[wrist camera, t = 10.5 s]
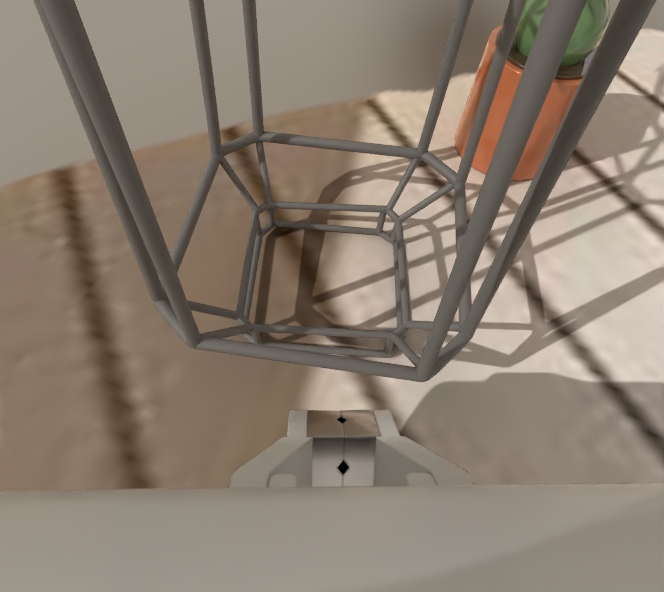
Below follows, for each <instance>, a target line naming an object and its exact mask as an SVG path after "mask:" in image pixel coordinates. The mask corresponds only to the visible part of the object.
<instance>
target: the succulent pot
mask: <svg viewBox="0 0 664 592" xmlns="http://www.w3.org/2000/svg"><path fill="white" fill-rule="evenodd" d="M547 2H548V0H526V3H525V6H524V9H523V12H522V15H521V18H520V21H519V24H518V27H517V30H516V33H515V36H514V39H513V42H512V45H511V48H510V51H509V54H508V57H507V60H506V63H505V66H504V69H503V72H502V75H501V78H500V81H499V84H498V87H497V90H496V93H495V96H494V99H493V102H492V105H491V108H490V111H489V114H488V117H487V120H486V123H485V126H484V129H483V132H482V135H481V138H480V141H479V144H478V147H477V150H476V153H475V156H474V159H473V162H472V165H471V166H472V167H474V168H475V169H477V170H478V171H480V172H482V173H484V174H486V173H487V171H488V168H489V165H490V162H491V159H492V157H493V154H494V151H495V148H496V145H497V142H498V140H499V137H500V134H501V131H502V128H503V126H504V123H505V120H506V117H507V114H508V112H509V109H510V106H511V103H512V100H513V98H514V95H515V92H516V89H517V86H518V84H519V81H520V78H521V75H522V72H523V69H524V67H525V64H526V61H527V58H528V55H529V53H530V50H531V47H532V44H533V41H534V39H535V36H536V33H537V30H538V27H539V25H540V22H541V19H542V16H543V13H544V11H545V8H546V5H547ZM609 14H610V7H609V0H587V2H586V4H585V7H584V9H583V11H582V14H581V16H580V19H579V21H578V23H577V26H576V28H575V31H574V33H573V35H572V38H571V40H570V42H569V45H568V47H567V50H566V52H565V54H564V57H563V59H562V61H561V64H560V66H559V69H558V71H557V73H556V76H555V78H554V80H553V83H552V85H551V88H550V90H549V92H548V95H547V97H546V99H545V102H544V104H543V107H542V109H541V111H540V114H539V116H538V118H537V121H536V123H535V126H534V128H533V130H532V133H531V135H530V137H529V140H528V142H527V145H526V147H525V149H524V152H523V154H522V157H521V159H520V161H519V164H518V166H517V168H516V171H515V173H514V176H513V178H512V180H514V181H516V180H527V179H532V178H534V176H535V174H536V172H537V170H538V168H539V166H540V164H541V162H542V160H543V158H544V156H545V154H546V152H547V150H548V148H549V146H550V144H551V142H552V140H553V137H554V135H555V133H556V131H557V129H558V127H559V125H560V123H561V121H562V119H563V117H564V115H565V113H566V111H567V109H568V107H569V105H570V103H571V101H572V98H573V96H574V94H575V92H576V90H577V88H578V86H579V84H580V82H581V80H582V78H583V76H584V74H585V72H586V70H587V68H588V66H589V64H590V62H591V59H592V57H593V55H594V53H595V51H596V49H597V47H598V44H599V42H600V41H601V39H602V37H603V35H604V33H605V31H606V28H607V25H608V21H609ZM502 25H503V24H502ZM502 25H500V26H499V27H497V28H496V29H494V30H493V31H492V33H491V34H490V36H489V39H488V42H487V44H486V47H485V50H484V53H483V56H482V59H481V62H480V65H479V68H478V70H477V73H476V76H475V79H474V82H473V85H472V88H471V91H470V94H469V96H468V99H467V102H466V105H465V108H464V111H463V114H462V117H461V119H460V122H459V125H458V128H457V131H456V134H455V145H456V148H457V150H458V152H459V154H460V155H461V157H463V154H464V151H465V147H466V144H467V141H468V138H469V134H470V131H471V128H472V125H473V121H474V118H475V115H476V111H477V108H478V105H479V101H480V98H481V95H482V92H483V88H484V85H485V82H486V78H487V75H488V72H489V68H490V65H491V62H492V58H493V55H494V52H495V49H496V45H497V42H498V39H499V35H500V32H501V29H502Z"/></svg>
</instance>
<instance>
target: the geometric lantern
mask: <svg viewBox="0 0 664 592" xmlns="http://www.w3.org/2000/svg"><path fill="white" fill-rule="evenodd" d="M473 1H474V0H459V2H458V6H457V10H456V13H455V17H454V21H453V25H452V28H451V31H450V35H449V39H448V42H447V46H446V49H445V53H444V57H443V61H442V64H441V68H440V72H439V75H438V79H437V82H436V86H435V89H434V93H433V97H432V100H431V104H430V107H429V111H428V114H427V118H426V121H425V125H424V128H423V131H422V135H421V138H420V142H419V145H418V148H410V147H401V146H392V145H383V144H374V143H365V142H355V141H346V140H337V139H328V138H319V137H310V136H301V135H292V134H283V133H274V132H265V131H264V127H263V113H262V97H261V82H260V66H259V51H258V34H257V19H256V3H255V0H242V3H243V14H244V24H245V36H246V47H247V59H248V70H249V81H250V93H251V104H252V116H253V128H254V133H251V134H248V135H245V136H243V137H240V138H238V139H235V140H233V141H230V142H228V143H225V144H223V145H221V139H220V130H219V122H218V113H217V104H216V96H215V87H214V80H213V72H212V64H211V56H210V48H209V40H208V32H207V25H206V17H205V10H204V1H203V0H189V4H190V11H191V17H192V24H193V30H194V37H195V43H196V50H197V57H198V63H199V70H200V76H201V82H202V89H203V96H204V102H205V109H206V117H207V124H208V132H209V139H210V147H211V156H210V159H209V161H208V164H207V166H206V169H205V171H204V174H203V176H202V179H201V181H200V183H199V186H198V188H197V191H196V193H195V196H194V198H193V201H192V203H191V206H190V208H189V211H188V213H187V215H186V218H185V220H184V223H183V225H182V228H181V230H180V233H179V235H178V238H177V240H176V242H175V245H174V247H173V250H172V252H171V255H170V254H169V252H168V249H167V246H166V244H165V241H164V238H163V236H162V233H161V230H160V228H159V225H158V222H157V220H156V217H155V214H154V212H153V209H152V206H151V204H150V201H149V198H148V196H147V193H146V190H145V188H144V185H143V183H142V180H141V177H140V175H139V172H138V169H137V167H136V164H135V161H134V159H133V156H132V153H131V151H130V148H129V145H128V143H127V140H126V137H125V135H124V132H123V129H122V127H121V124H120V121H119V119H118V116H117V113H116V111H115V108H114V105H113V103H112V100H111V97H110V95H109V92H108V89H107V87H106V84H105V81H104V79H103V76H102V73H101V71H100V68H99V66H98V63H97V60H96V57H95V55H94V52H93V50H92V47H91V44H90V41H89V39H88V36H87V34H86V31H85V28H84V26H83V23H82V20H81V17H80V15H79V12H78V9H77V7H76V4H75V1H74V0H34V3H35V5H36V8H37V10H38V13H39V15H40V18H41V20H42V23H43V25H44V28H45V30H46V33H47V35H48V38H49V40H50V43H51V46H52V48H53V51H54V53H55V56H56V58H57V61H58V63H59V66H60V68H61V71H62V73H63V76H64V78H65V81H66V84H67V86H68V89H69V91H70V94H71V96H72V99H73V101H74V104H75V106H76V109H77V111H78V114H79V116H80V119H81V121H82V124H83V126H84V129H85V131H86V134H87V137H88V139H89V141H90V144H91V147H92V149H93V152H94V154H95V157H96V159H97V162H98V164H99V167H100V169H101V172H102V175H103V177H104V180H105V182H106V185H107V187H108V190H109V192H110V195H111V197H112V200H113V202H114V205H115V207H116V210H117V212H118V215H119V217H120V220H121V223H122V225H123V228H124V230H125V233H126V235H127V238H128V240H129V243H130V245H131V248H132V250H133V253H134V255H135V258H136V260H137V263H138V265H139V268H140V270H141V272H142V275H143V277H144V280H145V282H146V285H147V288H148V290H149V293H150V295H151V298H152V300H153V302H154V305H155V307H156V309H157V310H158V312H159V313H160V314H161V316H162V317H163V318H164V319H165V320H166V321H167V323H168V324H169V325H170V326H171V327H172V329H173V330H174V331H175V332H176V333H177V335H178V336H179V337H180V338H181V339H182V340H183V341H184V342H185V343H186V344H187V345H188V346H189V347H191V348H193V349H200V350H207V351H214V352H220V353H227V354H234V355H241V356H248V357H254V358H261V359H268V360H275V361H282V362H288V363H295V364H302V365H309V366H316V367H322V368H329V369H336V370H343V371H350V372H356V373H363V374H370V375H377V376H384V377H390V378H397V379H404V380H411V381H418V382H425V381H428V380H429V379H431V378H432V377H433V376H435V375H436V374H437V373H438V372H439V371H440V370H441V369H442V368H443V367H444V366H445V365H446V364H447V363H448V362H449V361H450V360H451V359H452V358H453V357H454V356H455V355H456V354H457V353H458V352H459V351H460V350H461V349H462V348H463V347H464V346H465V345H466V344H467V343H468V342H469V341H470V340H471V338H472V337H473V335H474V332H475V330H476V328H477V326H478V324H479V322H480V321H481V319H482V317H483V315H484V313H485V311H486V309H487V308H488V306H489V304H490V302H491V300H492V298H493V296H494V295H495V293H496V291H497V289H498V287H499V285H500V284H501V282H502V280H503V278H504V276H505V275H506V273H507V271H508V269H509V267H510V265H511V264H512V262H513V260H514V258H515V256H516V255H517V253H518V251H519V249H520V247H521V245H522V244H523V242H524V240H525V238H526V236H527V235H528V233H529V231H530V229H531V227H532V225H533V224H534V222H535V220H536V218H537V216H538V215H539V213H540V211H541V209H542V207H543V205H544V204H545V202H546V200H547V198H548V196H549V195H550V193H551V191H552V189H553V187H554V185H555V184H556V182H557V180H558V178H559V176H560V175H561V173H562V171H563V169H564V167H565V165H566V164H567V162H568V160H569V158H570V156H571V155H572V153H573V151H574V149H575V147H576V145H577V144H578V142H579V140H580V138H581V136H582V135H583V133H584V131H585V129H586V127H587V125H588V124H589V122H590V120H591V118H592V116H593V115H594V113H595V111H596V109H597V107H598V105H599V104H600V102H601V100H602V98H603V96H604V95H605V93H606V91H607V89H608V87H609V85H610V84H611V82H612V80H613V78H614V76H615V75H616V73H617V71H618V69H619V67H620V65H621V64H622V62H623V60H624V58H625V56H626V55H627V53H628V51H629V49H630V47H631V45H632V44H633V42H634V40H635V38H636V36H637V35H638V33H639V31H640V29H641V27H642V25H643V24H644V22H645V20H646V18H647V16H648V15H649V13H650V11H651V9H652V7H653V5H654V4H655V2H656V0H620V2H619V4H618V6H617V8H616V10H615V12H614V14H613V16H612V18H611V20H610V23H609V25H608V27H607V29H606V31H605V33H604V35H603V37H602V39H601V41H600V43H599V45H598V47H597V49H596V51H595V53H594V55H593V57H592V59H591V62H590V64H589V66H588V68H587V70H586V72H585V74H584V76H583V78H582V80H581V82H580V84H579V86H578V88H577V90H576V92H575V94H574V96H573V98H572V101H571V103H570V105H569V107H568V109H567V111H566V113H565V115H564V117H563V119H562V121H561V123H560V125H559V127H558V129H557V131H556V133H555V135H554V137H553V140H552V142H551V144H550V146H549V148H548V150H547V152H546V154H545V156H544V158H543V160H542V162H541V164H540V166H539V168H538V170H537V172H536V174H535V176H534V179H533V181H532V183H531V185H530V187H529V189H528V191H527V193H526V195H525V197H524V199H523V201H522V203H521V205H520V207H519V209H518V211H517V213H516V215H515V218H514V220H513V222H512V224H511V226H510V228H509V230H508V232H507V234H506V236H505V238H504V240H503V242H502V244H501V246H500V248H499V250H498V252H497V254H496V257H495V259H494V261H493V263H492V265H491V267H490V269H489V271H488V273H487V275H486V277H485V279H484V281H483V283H482V285H481V287H480V289H479V291H478V294H477V296H476V298H475V300H474V302H473V304H472V303H471V285H470V278H471V275H472V273H473V271H474V268H475V266H476V263H477V261H478V259H479V256H480V254H481V252H482V249H483V247H484V244H485V242H486V240H487V237H488V235H489V233H490V230H491V228H492V225H493V223H494V221H495V218H496V216H497V214H498V211H499V209H500V206H501V204H502V202H503V199H504V197H505V195H506V192H507V190H508V187H509V185H510V183H511V180H512V178H513V176H514V173H515V171H516V168H517V166H518V164H519V161H520V159H521V157H522V154H523V152H524V149H525V147H526V145H527V142H528V140H529V137H530V135H531V133H532V130H533V128H534V126H535V123H536V121H537V118H538V116H539V114H540V111H541V109H542V107H543V104H544V102H545V99H546V97H547V95H548V92H549V90H550V88H551V85H552V83H553V80H554V78H555V76H556V73H557V71H558V69H559V66H560V64H561V61H562V59H563V57H564V54H565V52H566V50H567V47H568V45H569V42H570V40H571V38H572V35H573V33H574V31H575V28H576V26H577V23H578V21H579V19H580V16H581V14H582V11H583V9H584V7H585V4H586V2H587V0H548V2H547V5H546V8H545V11H544V13H543V16H542V19H541V22H540V25H539V27H538V30H537V33H536V36H535V39H534V41H533V44H532V47H531V50H530V53H529V55H528V58H527V61H526V64H525V67H524V69H523V72H522V75H521V78H520V81H519V84H518V86H517V89H516V92H515V95H514V98H513V100H512V103H511V106H510V109H509V112H508V114H507V117H506V120H505V123H504V126H503V128H502V131H501V134H500V137H499V140H498V142H497V145H496V148H495V151H494V154H493V157H492V159H491V162H490V165H489V168H488V171H487V173H486V176H485V179H484V182H483V185H482V187H481V190H480V193H479V196H478V199H477V201H476V204H475V207H474V210H473V213H472V215H471V218H470V221H469V224H468V227H467V214H466V196H465V183H466V180H467V177H468V174H469V171H470V168H471V165H472V162H473V159H474V156H475V153H476V150H477V147H478V144H479V141H480V138H481V135H482V132H483V129H484V126H485V123H486V120H487V117H488V114H489V111H490V108H491V105H492V102H493V99H494V96H495V93H496V90H497V87H498V84H499V81H500V78H501V75H502V72H503V69H504V66H505V63H506V60H507V57H508V54H509V51H510V48H511V45H512V42H513V39H514V36H515V33H516V30H517V27H518V24H519V21H520V18H521V15H522V12H523V9H524V6H525V3H526V0H510V3H509V6H508V9H507V12H506V16H505V19H504V22H503V25H502V29H501V32H500V35H499V39H498V42H497V45H496V49H495V52H494V55H493V58H492V62H491V65H490V68H489V72H488V75H487V78H486V82H485V85H484V88H483V92H482V95H481V98H480V101H479V105H478V108H477V111H476V115H475V118H474V121H473V125H472V128H471V131H470V134H469V138H468V141H467V144H466V147H465V151H464V154H463V157H462V160H461V163H460V167H459V170H458V173H456V172H454V171H453V170H452V169H451V168H449V167H448V166H447V165H446V164H444V163H443V162H442V161H441V160H439V159H438V158H437V157H436V156H434V155H433V154H432V153H430V152H429V151H427V150H428V147H429V144H430V141H431V138H432V135H433V132H434V128H435V125H436V122H437V119H438V116H439V113H440V110H441V106H442V103H443V100H444V96H445V93H446V90H447V87H448V83H449V80H450V77H451V73H452V70H453V66H454V63H455V60H456V57H457V53H458V50H459V47H460V43H461V40H462V37H463V34H464V30H465V27H466V24H467V21H468V17H469V14H470V10H471V7H472V4H473ZM263 142H271V143H280V144H289V145H298V146H307V147H316V148H325V149H334V150H342V151H351V152H360V153H369V154H378V155H387V156H396V157H405V158H413V160H412V161H411V163H410V165H409V167H408V169H407V170H406V172H405V174H404V176H403V178H402V179H401V181H400V183H399V185H398V187H397V188H396V190H395V192H394V194H393V196H392V197H391V199H390V201H389V203H388V205H387V206H375V205H350V204H325V203H300V202H274V201H272V197H271V191H270V185H269V179H268V173H267V166H266V160H265V154H264V148H263ZM253 143H256V147H257V153H258V159H259V165H260V171H261V177H262V183H263V189H264V195H265V201H266V203H265V204H263V205H261V206H259V207H258V206H257V204H256V203H255V201H254V200H253V198H252V197H251V196H250V194H249V193H248V191H247V190H246V188H245V187H244V185H243V184H242V182H241V181H240V180H239V178H238V177H237V175H236V174H235V172H234V171H233V169H232V168H231V166H230V165H229V164H228V162H227V161H226V159H225V158H224V156H225V155H227V154H229V153H232V152H234V151H236V150H239V149H241V148H243V147H246V146H248V145H250V144H253ZM420 159H422V160H423V161H425V162H426V163H427V164H429V165H430V166H431V167H432V168H433V169H435V170H436V171H437V172H438V173H440V174H441V175H442V176H443V177H445V178H446V179H447V180H448V181H449V182H450V183H449V184H447V185H446V186H444V187H443V188H441V189H440V190H438V191H437V192H435V193H434V194H432V195H431V196H429V197H428V198H426V199H425V200H423V201H422V202H420V203H419V204H417V205H415V206H414V207H412V208H411V209H409V210H408V211H406V212H405V213H403V214H402V215H400V216H398V215H397V214H396V213H395V212H394V211H393V210H392V209H393V207H394V206H395V204H396V202H397V200H398V198H399V197H400V195H401V193H402V191H403V189H404V188H405V186H406V184H407V182H408V181H409V179H410V177H411V175H412V173H413V172H414V170H415V168H416V166H417V164H418V163H419V161H420ZM219 163H220V164H221V165H222V167H223V168H224V170H225V171H226V173H227V174H228V175H229V177H230V178H231V180H232V181H233V183H234V184H235V185H236V187H237V188H238V190H239V191H240V193H241V194H242V195H243V197H244V198H245V200H246V201H247V203H248V204H249V206H250V207H251V208H252V210H253V212H252V219H251V225H250V231H249V237H248V243H247V250H246V256H245V262H244V268H243V274H242V280H241V286H240V292H239V299H238V305H237V311H236V312H235V311H231V310H227V309H222V308H218V307H214V306H209V305H205V304H200V303H196V302H192V301H187V300H186V297H185V294H184V292H183V289H182V286H181V284H180V281H179V278H178V276H177V272H178V269H179V267H180V264H181V262H182V259H183V256H184V254H185V251H186V249H187V246H188V244H189V241H190V238H191V236H192V233H193V231H194V228H195V225H196V223H197V220H198V218H199V215H200V212H201V210H202V207H203V205H204V202H205V200H206V197H207V194H208V192H209V189H210V187H211V184H212V181H213V179H214V176H215V174H216V171H217V169H218V166H219ZM452 189H454V196H455V224H456V252H457V258H456V260H455V263H454V266H453V269H452V272H451V274H450V277H449V280H448V283H447V286H446V288H445V291H444V294H443V297H442V300H441V302H440V305H439V308H438V311H437V314H436V316H435V319H434V322H429V321H411V319H410V308H409V297H408V285H407V273H406V262H405V250H404V238H403V227H402V222H403V221H405V220H406V219H408V218H409V217H411V216H412V215H414V214H415V213H417V212H418V211H420V210H421V209H423V208H425V207H426V206H428V205H429V204H431V203H432V202H434V201H435V200H437V199H438V198H440V197H441V196H443V195H444V194H446V193H447V192H449V191H451V190H452ZM274 208H283V209H308V210H333V211H359V212H380V215H379V220H378V224H377V229H372V228H360V227H348V226H336V225H324V224H312V223H300V222H289V221H277V220H275V221H274ZM267 209H268V224H267V225H266V226H265V227H263V228H262V229H261V228H260V221H259V213H261V212H263V211H265V210H267ZM386 214H387V215H388V216H390V217H391V218H392V219H393V220H394V221H395V224H394V227H393V231H392V235H391V236H390V235H389V234H387V233H385V232H384V231H382V230H383V226H384V221H385V217H386ZM274 226H275V227H287V228H299V229H311V230H323V231H335V232H347V233H359V234H371V235H379V236H381V237H382V238H384V239H385V240H387V241H388V242H390V243H392V244H393V249H394V269H395V289H396V310H397V328H396V329H395V330H394V331H393V332H392V331H378V330H360V329H342V328H324V327H306V326H288V325H270V324H252V323H251V322H250V321H249V320H248V319H249V313H250V307H251V301H252V295H253V289H254V283H255V277H256V271H257V265H258V259H259V253H260V247H261V241H262V236H264V235H265V234H266V233H267V232H268V231H270V230H271V229H272V228H273V227H274ZM157 273H158V274H157ZM158 275H159V277H158ZM159 278H160V280H159ZM171 306H172V307H171ZM458 307H459V323H452V321H453V318H454V316H455V313H456V311H457V309H458ZM191 310H193V311H198V312H203V313H207V314H212V315H217V316H221V317H226V318H231V319H235V320H237V321H238V325H239V326H235V327H231V328H226V329H221V330H217V331H212V332H207V333H202V334H199V331H198V328H197V326H196V323H195V321H194V318H193V315H192V313H191ZM408 328H410V329H425V330H431V331H430V333H429V336H428V339H427V342H426V344H425V347H424V350H423V353H422V355H421V358H419V357H418V356H417V355H416V353H415V352H414V351H413V350H412V349H411V348H410V347H409V346H408V345H407V344H406V343H405V342H404V340H405V338H406V336H405V334H406V332H407V330H408ZM448 331H457V332H459V333H458V334H457V335H456V336H455V337H454V338H453V339H452V340H451V341H450V342H449V343H448V344H447V345H446V346H445V347H444V348H443V349H442V350H441V351H440V349H441V346H442V344H443V342H444V340H445V337H446V335H447V332H448ZM249 332H251V333H252V334H250V333H249ZM259 332H272V333H290V334H308V335H326V336H344V337H362V338H380V339H386V344H385V350H370V349H356V348H343V347H329V346H315V345H302V344H288V343H274V342H262V340H261V337H260V333H259ZM238 334H240V335H241V336H242V337H244V338H245V339H246V340H248V341H249V342H251V343H246V342H240V341H233V340H226V339H221V338H225V337H230V336H234V335H238ZM398 348H399V349H400V350H401V351H402V352H403V353H404V354H405V355H406V357H407V358H408V359H409V360H410V361H411V362H412V363H413V364H414V366H415V367H410V366H403V365H397V364H390V363H383V362H376V361H369V360H362V359H356V358H349V357H342V356H335V355H328V354H337V355H351V356H365V357H379V358H391V357H392V356H393V355H394V354H395V352H396V351H397V349H398ZM439 351H440V352H439ZM322 353H323V354H322Z"/></svg>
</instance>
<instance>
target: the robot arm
mask: <svg viewBox="0 0 664 592" xmlns="http://www.w3.org/2000/svg"><path fill="white" fill-rule="evenodd" d="M0 592H664V483H605V484H519V485H475V484H474V483H473V481H472V479H471V477H470V476H469V474H468V472H467V471H466V470H464V469H462V468H460V467H458V466H457V465H455V464H453V463H451V462H450V461H448V460H446V459H444V458H443V457H441V456H439V455H437V454H436V453H434V452H432V451H430V450H428V449H427V448H425V447H423V446H421V445H420V444H418V443H416V442H414V441H413V440H411V439H409V438H407V437H405V436H400V434H399V431H398V429H397V426H396V424H395V421H394V419H393V416H392V414H391V411H390V410H347V411H323V410H290V411H289V421H288V433H287V437H282V438H281V439H279V440H278V441H276V442H275V443H274V444H272V445H271V446H269V447H268V448H267V449H265V450H264V451H262V452H261V453H260V454H258V455H257V456H255V457H254V458H253V459H251V460H250V461H248V462H247V463H246V464H244V465H243V466H241V467H240V468H239V469H237V470H236V471H234V472H233V473H232V475H231V479H230V482H229V486H228V488H163V489H78V490H0Z"/></svg>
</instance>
